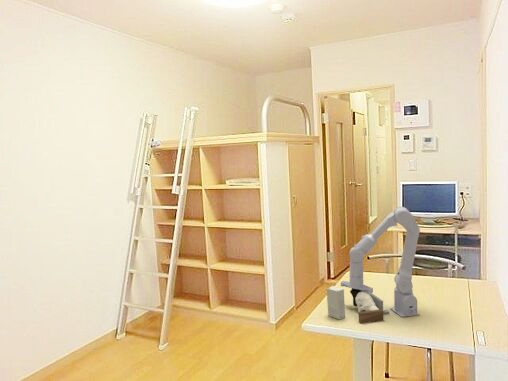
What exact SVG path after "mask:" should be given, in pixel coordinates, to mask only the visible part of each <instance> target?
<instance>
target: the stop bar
mask: <svg viewBox="0 0 508 381" xmlns="http://www.w3.org/2000/svg"><path fill="white" fill-rule="evenodd" d="M383 310H384V309H383ZM383 310H382V309H381V310H373V311H365V310H363V311H361V312H358V311H357V312H358V323H359V324H368V323H375V322H382V321H384V315H383Z"/></svg>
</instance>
